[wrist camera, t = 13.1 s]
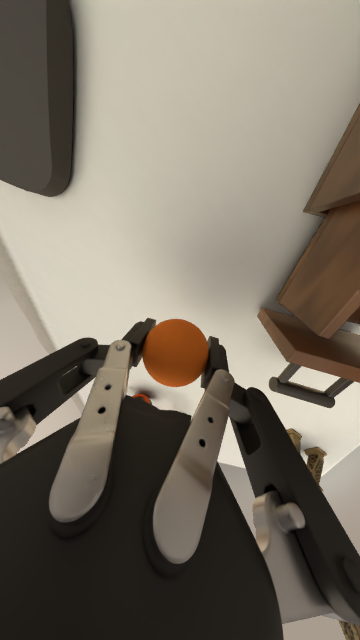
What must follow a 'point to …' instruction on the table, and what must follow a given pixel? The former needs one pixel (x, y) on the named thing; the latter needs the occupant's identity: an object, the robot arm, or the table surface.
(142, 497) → the robot arm
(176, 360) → the ball
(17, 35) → the media streaming box
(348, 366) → the drawer
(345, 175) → the cabinet
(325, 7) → the table surface
